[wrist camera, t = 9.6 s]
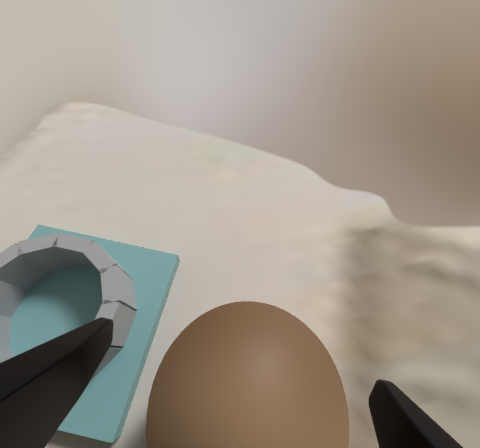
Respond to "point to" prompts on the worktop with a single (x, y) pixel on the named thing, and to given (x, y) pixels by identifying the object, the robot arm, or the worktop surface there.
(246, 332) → the walnut peg
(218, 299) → the worktop surface
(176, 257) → the ring stand
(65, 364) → the robot arm
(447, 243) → the worktop surface
